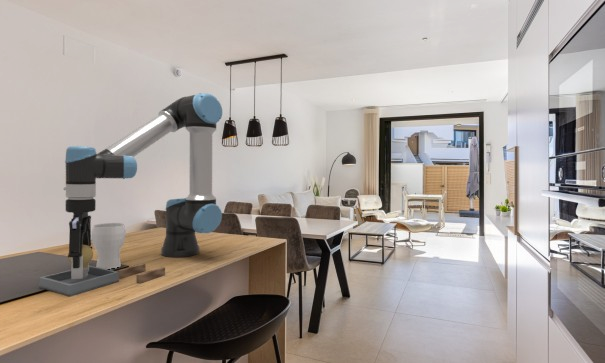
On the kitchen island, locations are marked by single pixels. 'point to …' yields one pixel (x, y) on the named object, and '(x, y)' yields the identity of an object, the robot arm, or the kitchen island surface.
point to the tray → (78, 281)
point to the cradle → (142, 276)
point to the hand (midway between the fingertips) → (80, 274)
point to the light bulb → (85, 259)
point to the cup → (108, 244)
